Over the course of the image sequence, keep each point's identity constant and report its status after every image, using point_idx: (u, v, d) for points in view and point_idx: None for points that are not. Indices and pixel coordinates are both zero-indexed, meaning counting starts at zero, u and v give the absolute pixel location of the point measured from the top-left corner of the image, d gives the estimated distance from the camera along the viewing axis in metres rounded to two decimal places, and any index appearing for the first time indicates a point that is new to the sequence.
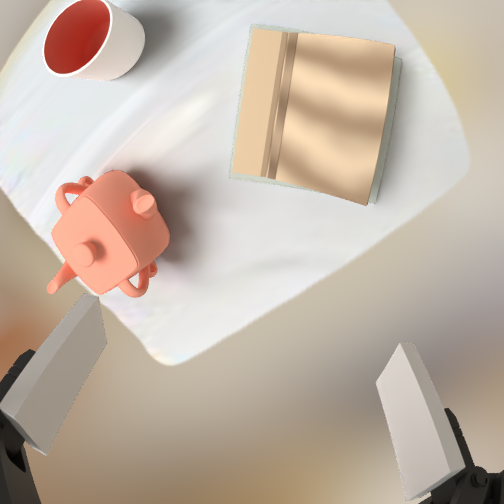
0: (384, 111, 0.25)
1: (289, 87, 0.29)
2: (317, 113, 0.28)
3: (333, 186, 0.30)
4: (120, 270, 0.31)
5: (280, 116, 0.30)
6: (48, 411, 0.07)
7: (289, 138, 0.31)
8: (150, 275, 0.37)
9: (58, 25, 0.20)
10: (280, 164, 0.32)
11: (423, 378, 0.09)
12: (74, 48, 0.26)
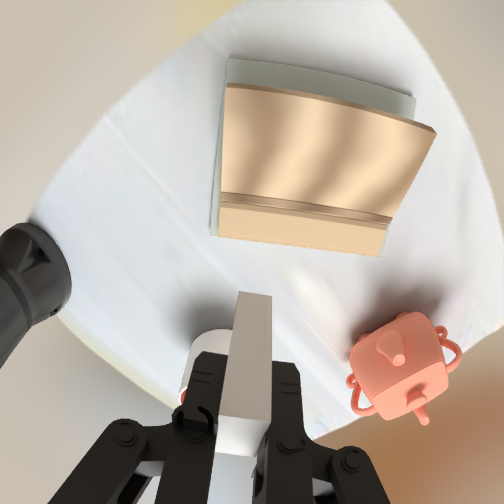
0: (327, 103, 0.20)
1: (293, 201, 0.28)
2: (327, 175, 0.25)
3: (411, 165, 0.23)
4: (438, 373, 0.29)
5: (326, 210, 0.29)
6: None
7: (352, 203, 0.28)
8: (446, 334, 0.33)
9: None
10: (378, 212, 0.28)
11: (262, 325, 0.11)
12: None
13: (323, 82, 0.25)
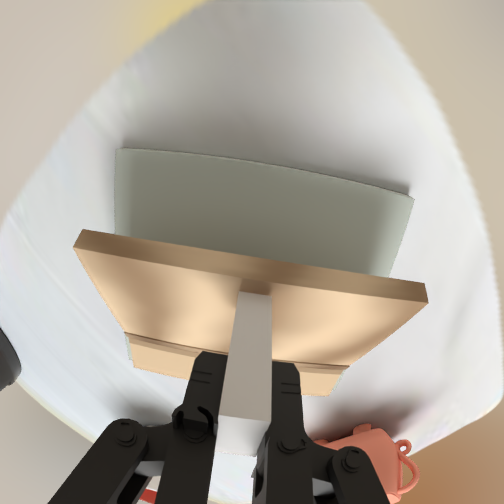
0: (226, 277, 0.13)
1: (211, 350, 0.21)
2: None
3: (378, 332, 0.16)
4: None
5: None
6: None
7: (291, 357, 0.21)
8: (408, 451, 0.26)
9: (144, 493, 0.28)
10: (329, 363, 0.21)
11: (262, 326, 0.11)
12: None
13: (257, 184, 0.18)
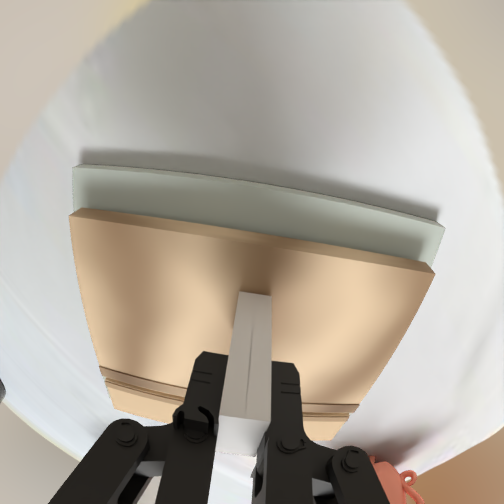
0: (226, 243, 0.12)
1: None
2: None
3: (390, 333, 0.14)
4: None
5: None
6: None
7: None
8: (413, 482, 0.22)
9: None
10: (336, 401, 0.17)
11: (262, 325, 0.11)
12: None
13: (249, 212, 0.14)
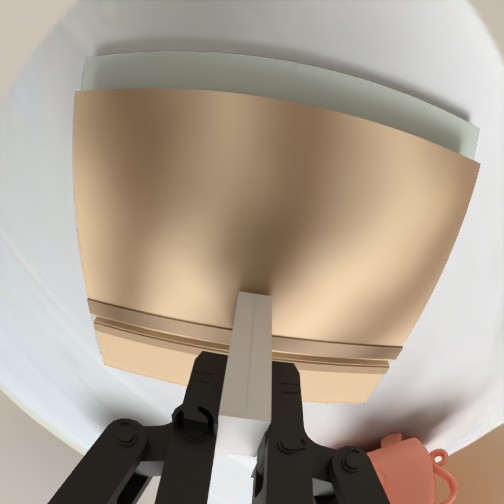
0: (255, 100, 0.10)
1: (208, 326, 0.14)
2: (271, 273, 0.13)
3: (440, 237, 0.12)
4: None
5: (275, 344, 0.15)
6: None
7: (327, 328, 0.14)
8: (445, 462, 0.19)
9: None
10: (377, 341, 0.15)
11: (262, 325, 0.11)
12: None
13: (278, 85, 0.11)
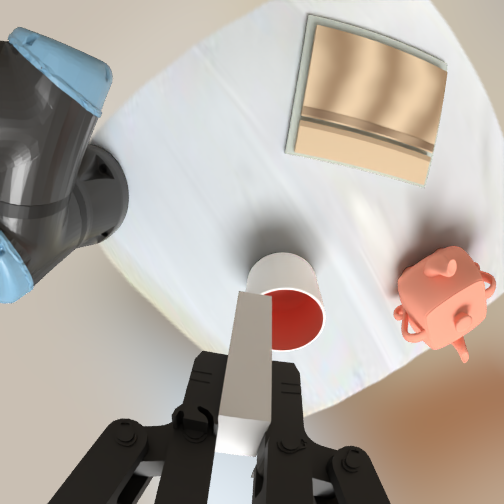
0: (379, 43, 0.26)
1: (360, 120, 0.31)
2: (384, 98, 0.29)
3: (437, 95, 0.28)
4: (479, 294, 0.31)
5: (385, 132, 0.31)
6: None
7: (404, 126, 0.30)
8: (479, 269, 0.35)
9: None
10: (423, 138, 0.31)
11: (262, 325, 0.11)
12: (275, 319, 0.42)
13: (380, 42, 0.27)
